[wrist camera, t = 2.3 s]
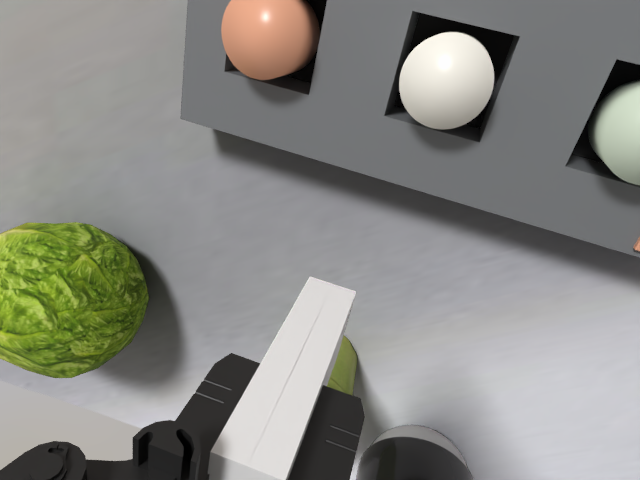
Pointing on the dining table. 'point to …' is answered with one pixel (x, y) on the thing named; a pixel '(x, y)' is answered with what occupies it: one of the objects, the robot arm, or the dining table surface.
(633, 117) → the sage button
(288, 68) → the peach rounded knob
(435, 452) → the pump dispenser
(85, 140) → the dining table surface
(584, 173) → the button console
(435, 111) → the cream button
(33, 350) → the lettuce
